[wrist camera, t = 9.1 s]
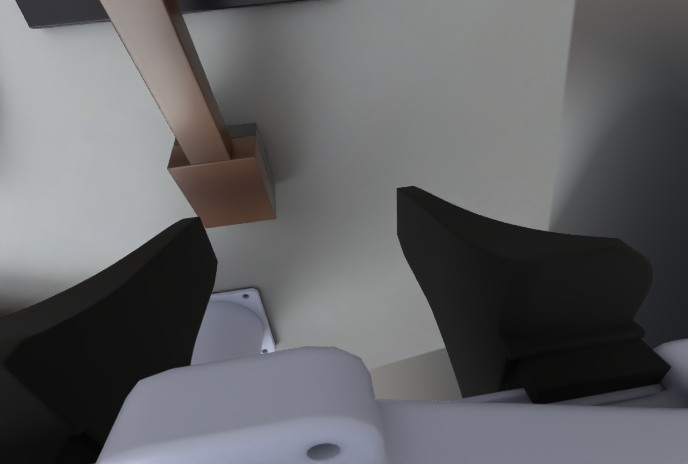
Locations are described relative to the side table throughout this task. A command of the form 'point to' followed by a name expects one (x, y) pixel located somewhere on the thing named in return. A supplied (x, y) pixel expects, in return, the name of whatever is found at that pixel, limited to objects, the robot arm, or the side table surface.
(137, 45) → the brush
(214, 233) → the side table surface
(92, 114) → the side table surface
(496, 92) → the side table surface
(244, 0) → the black stand
